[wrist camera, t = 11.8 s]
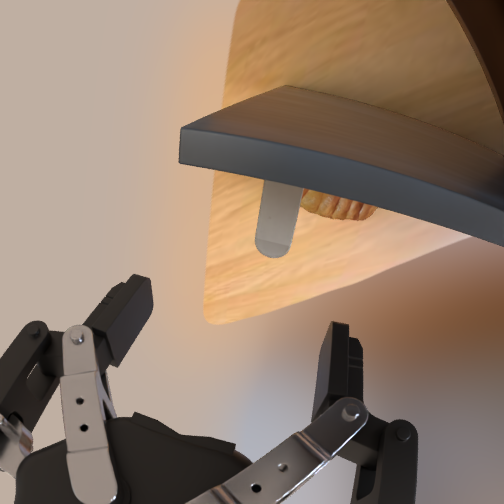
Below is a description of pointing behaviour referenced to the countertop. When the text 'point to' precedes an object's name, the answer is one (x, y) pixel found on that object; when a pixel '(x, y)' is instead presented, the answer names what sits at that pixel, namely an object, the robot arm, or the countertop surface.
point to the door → (348, 162)
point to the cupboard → (485, 39)
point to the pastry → (335, 206)
